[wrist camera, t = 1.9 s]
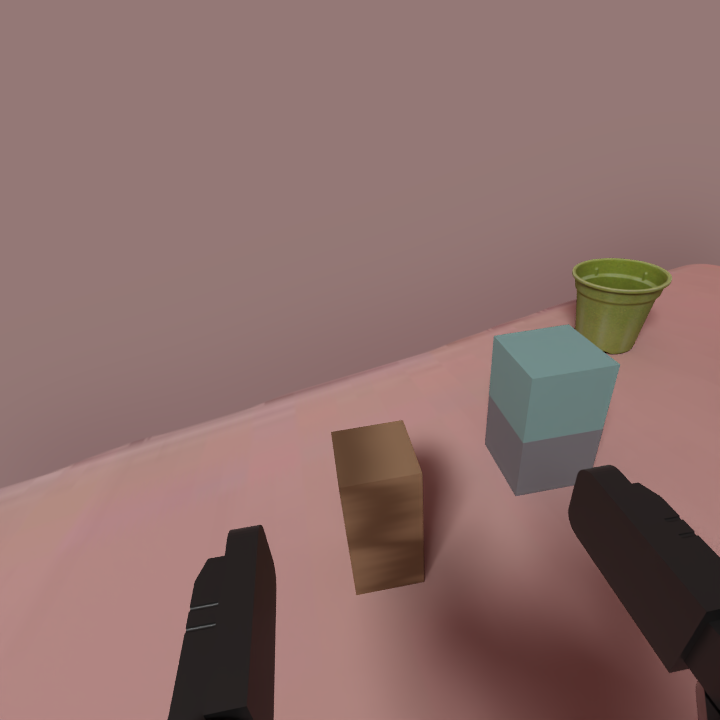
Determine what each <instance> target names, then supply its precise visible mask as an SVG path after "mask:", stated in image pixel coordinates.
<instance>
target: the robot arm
mask: <svg viewBox="0 0 720 720" xmlns="http://www.w3.org/2000/svg"><path fill="white" fill-rule="evenodd" d="M568 514H569V520H570V524H571V527H572V529H573V531H574V533H575V534H576V536H577V538H578V539H579V540H580V542H581V543H582V545H583V546H584V548H585V549H586V551H587V552H588V554H589V555H590V557H591V558H592V560H593V561H594V563H595V564H596V566H597V567H598V568H599V570H600V571H601V573H602V574H603V576H604V577H605V579H606V580H607V582H608V583H609V585H610V586H611V588H612V589H613V591H614V592H615V594H616V595H617V596H618V598H619V599H620V601H621V602H622V604H623V605H624V607H625V608H626V610H627V611H628V613H629V614H630V616H631V617H632V619H633V620H634V622H635V623H636V624H637V626H638V627H639V629H640V630H641V632H642V633H643V635H644V636H645V638H646V639H647V641H648V642H649V644H650V645H651V647H652V648H653V650H654V651H655V652H656V654H657V655H658V657H659V658H660V660H661V661H662V663H663V664H664V666H665V667H666V669H667V670H668V672H669V673H671V672H676V671H680V670H685V669H690V670H691V672H692V673H693V674H694V676H695V677H696V679H697V680H698V681H697V683H696V702H697V713H698V720H720V557H719V556H718V555H717V554H716V553H715V552H714V551H713V550H712V549H711V548H710V547H709V546H708V545H707V544H706V543H705V542H704V541H703V540H702V539H701V538H700V537H699V536H696V535H695V533H694V530H693V529H692V528H691V527H690V526H689V525H688V524H687V523H686V522H685V521H684V520H681V519H680V517H679V515H678V514H677V513H676V512H675V511H674V510H673V509H672V508H671V507H670V506H669V504H668V503H667V502H666V501H665V500H664V499H663V498H662V497H660V496H659V495H657V494H656V493H654V492H652V491H651V490H649V489H648V488H646V487H645V486H643V485H641V484H640V483H633V484H631V482H630V481H629V480H628V479H627V478H626V477H625V476H624V475H623V474H622V473H621V472H620V471H619V470H618V469H617V468H616V467H614V466H612V465H606V466H600V467H594V468H589V469H583V470H580V471H579V472H578V474H577V477H576V481H575V485H574V489H573V493H572V497H571V501H570V505H569V510H568ZM275 628H276V574H275V567H274V562H273V559H272V555H271V552H270V549H269V545H268V542H267V539H266V535H265V532H264V529H263V526H262V525H257V526H251V527H245V528H240V529H234V530H230V531H229V533H228V537H227V544H226V551H225V556H221V557H215V558H210V559H208V560H207V562H206V563H205V565H204V567H203V568H202V570H201V572H200V574H199V575H198V577H197V579H196V580H195V583H194V588H193V593H192V599H191V604H190V612H189V614H188V619H187V624H186V633H185V635H184V640H183V645H182V650H181V655H180V660H179V665H178V671H177V676H176V681H175V686H174V691H173V696H172V701H171V707H170V712H169V716H168V720H274V674H275Z"/></svg>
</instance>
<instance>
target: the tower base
mask: <svg viewBox="0 0 720 720" xmlns="http://www.w3.org/2000/svg"><path fill="white" fill-rule="evenodd" d="M602 431H603V429H600V430H594V431H589V432H583V433H577V434H571V435H566V436H560V437H554V438H549V439H543V440H537V441H531V442H526V443H523V442H522V441H521V439H520V438H519V436H518V435H517V434H516V432H515V431H514V429H513V428H512V426H511V425H510V424H509V422H508V421H507V419H506V418H505V416H504V415H503V414H502V412H501V411H500V409H499V408H498V406H497V405H496V404H495V402H494V401H493V399H492V398H491V396H490V395H489V403H488V415H487V427H486V438H485V445H486V446H487V448H488V450H489V452H490V453H491V455H492V457H493V458H494V460H495V462H496V464H497V465H498V467H499V469H500V470H501V472H502V474H503V475H504V477H505V479H506V481H507V482H508V484H509V486H510V487H511V489H512V491H513V493H514V494H515V496H519V495H524V494H530V493H535V492H540V491H546V490H551V489H557V488H562V487H568V486H573V485H575V481H576V477H577V474H578V472H579V471H580V470H583V469H589V468H593V464H594V461H595V457H596V453H597V450H598V446H599V442H600V439H601V435H602Z"/></svg>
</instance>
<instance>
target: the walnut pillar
mask: <svg viewBox="0 0 720 720" xmlns="http://www.w3.org/2000/svg"><path fill="white" fill-rule="evenodd" d="M331 435H332V442H333V449H334V456H335V464H336V471H337V478H338V485H339V492H340V498H341V504H342V510H343V516H344V522H345V529H346V535H347V541H348V547H349V553H350V559H351V565H352V571H353V577H354V583H355V589H356V595H360V594H365V593H370V592H375V591H380V590H385V589H390V588H395V587H400V586H405V585H410V584H415V583H420V582H424V540H423V481H422V471H421V468H420V465H419V463H418V460H417V457H416V455H415V452H414V449H413V446H412V444H411V441H410V438H409V436H408V433H407V430H406V427H405V425H404V422H403V420H401V421H395V422H389V423H383V424H377V425H371V426H365V427H359V428H353V429H347V430H341V431H335V432H331Z"/></svg>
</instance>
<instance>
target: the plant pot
mask: <svg viewBox="0 0 720 720" xmlns="http://www.w3.org/2000/svg"><path fill="white" fill-rule="evenodd" d="M572 274H573V276H574V278H575V286H576V289H577V304H576V326H575V330H576V331H578V332H579V333H580V334H581V335H583V336H584V337H585V338H587V339H588V340H589V341H590V342H592V343H593V344H594V345H596V346H597V347H598V348H599V349H601V350H602V351H605V352H608V353H610V354H619V353H624V352H627V351H629V350H630V349H631V348H632V347H633V345H634V343H635V341H636V339H637V337H638V334H639V332H640V330H641V328H642V326H643V324H644V322H645V320H646V318H647V316H648V314H649V312H650V310H651V308H652V306H653V304H654V302H655V300H656V299H657V298H658V297H659V296H660V295H661V293H662V291H663V289H664V288H666V287H667V286H668V285H669V284H670V283H671V281H672V276H671V274H670V273H669V272H668V271H666V270H664V269H663V268H661V267H659V266H656V265H653V264H650V263H647V262H642V261H637V260H629V259H617V258H605V259H594V260H588V261H585V262H582V263H579V264H578V265H576V266H575V267H574V268H573V271H572Z"/></svg>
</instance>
